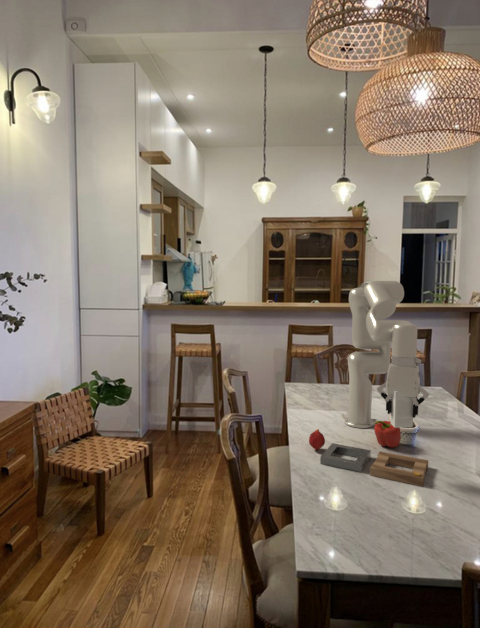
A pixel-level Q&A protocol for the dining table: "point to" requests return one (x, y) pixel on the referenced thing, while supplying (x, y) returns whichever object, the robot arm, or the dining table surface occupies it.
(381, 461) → the frame
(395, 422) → the skincare box
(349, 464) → the gray square frame
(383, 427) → the vegetable
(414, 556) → the dining table surface
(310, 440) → the onion
